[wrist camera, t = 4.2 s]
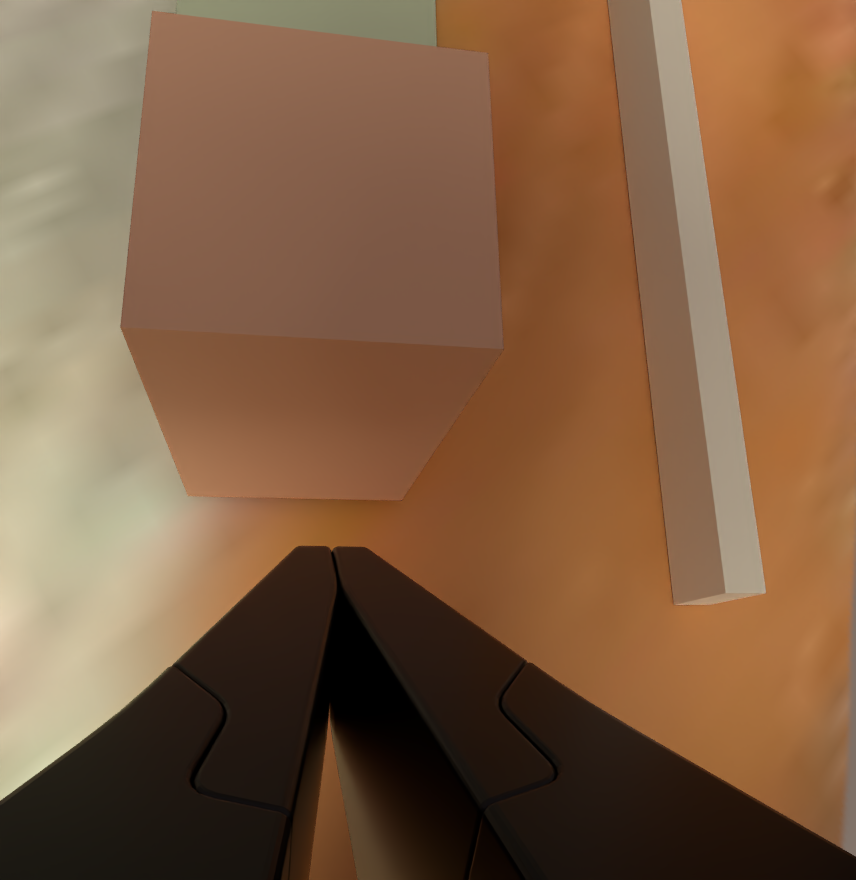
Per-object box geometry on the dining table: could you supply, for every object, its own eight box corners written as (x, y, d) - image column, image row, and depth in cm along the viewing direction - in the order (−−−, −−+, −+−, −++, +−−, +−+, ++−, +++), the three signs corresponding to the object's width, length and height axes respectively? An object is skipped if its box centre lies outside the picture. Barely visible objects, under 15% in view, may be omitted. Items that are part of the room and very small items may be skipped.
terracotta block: (401, 500, 24) (503, 348, 13) (188, 496, 23) (120, 327, 12) (399, 313, 25) (488, 53, 15) (201, 301, 24) (152, 10, 14)
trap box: (710, 604, 25) (811, 583, 20) (-216, 606, 20) (-362, 579, 16) (623, -101, 33) (681, -231, 29) (-43, -211, 29) (-103, -388, 24)
